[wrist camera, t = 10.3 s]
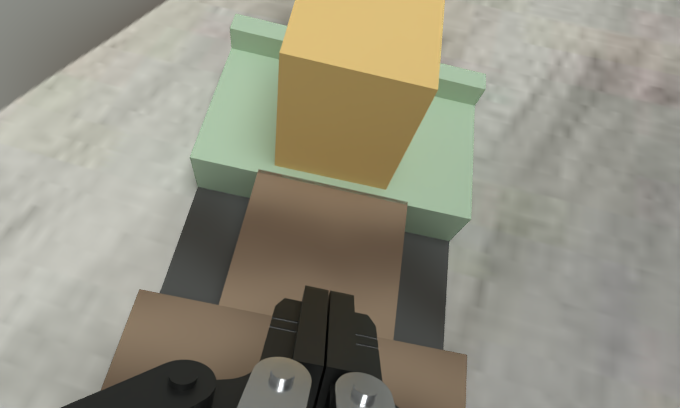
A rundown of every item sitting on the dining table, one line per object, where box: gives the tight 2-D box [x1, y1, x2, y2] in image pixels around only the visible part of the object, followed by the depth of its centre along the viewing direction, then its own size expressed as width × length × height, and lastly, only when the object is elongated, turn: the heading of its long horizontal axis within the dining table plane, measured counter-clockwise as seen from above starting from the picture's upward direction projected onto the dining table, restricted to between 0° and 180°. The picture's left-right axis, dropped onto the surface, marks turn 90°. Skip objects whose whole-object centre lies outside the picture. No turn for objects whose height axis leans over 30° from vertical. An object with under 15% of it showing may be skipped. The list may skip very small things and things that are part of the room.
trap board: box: [101, 169, 467, 408], centre depth 21 cm, size 17×15×4 cm
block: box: [275, 0, 445, 190], centre depth 21 cm, size 6×6×8 cm
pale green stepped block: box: [190, 14, 486, 241], centre depth 26 cm, size 9×15×5 cm, turn 80°
